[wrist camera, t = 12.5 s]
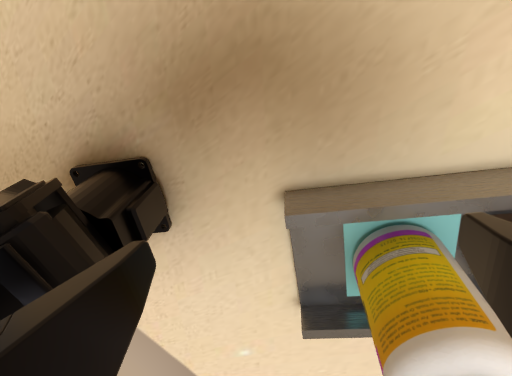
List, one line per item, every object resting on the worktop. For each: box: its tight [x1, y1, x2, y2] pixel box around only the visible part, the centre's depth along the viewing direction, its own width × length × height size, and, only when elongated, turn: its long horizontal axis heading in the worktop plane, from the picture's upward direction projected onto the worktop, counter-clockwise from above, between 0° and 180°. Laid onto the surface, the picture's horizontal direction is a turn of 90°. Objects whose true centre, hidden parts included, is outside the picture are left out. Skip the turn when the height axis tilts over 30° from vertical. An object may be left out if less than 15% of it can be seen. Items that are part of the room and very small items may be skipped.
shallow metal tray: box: [285, 168, 512, 339], centre depth 22 cm, size 22×12×4 cm, turn 100°
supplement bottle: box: [353, 225, 512, 376], centre depth 17 cm, size 7×7×13 cm
